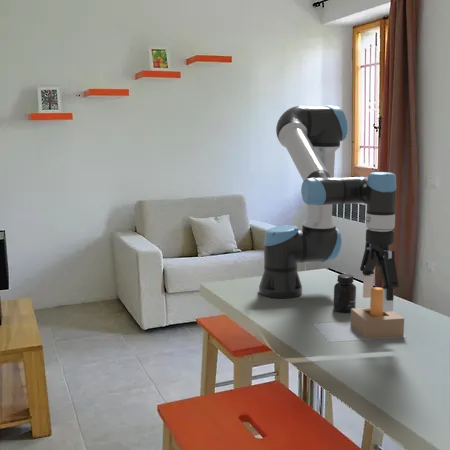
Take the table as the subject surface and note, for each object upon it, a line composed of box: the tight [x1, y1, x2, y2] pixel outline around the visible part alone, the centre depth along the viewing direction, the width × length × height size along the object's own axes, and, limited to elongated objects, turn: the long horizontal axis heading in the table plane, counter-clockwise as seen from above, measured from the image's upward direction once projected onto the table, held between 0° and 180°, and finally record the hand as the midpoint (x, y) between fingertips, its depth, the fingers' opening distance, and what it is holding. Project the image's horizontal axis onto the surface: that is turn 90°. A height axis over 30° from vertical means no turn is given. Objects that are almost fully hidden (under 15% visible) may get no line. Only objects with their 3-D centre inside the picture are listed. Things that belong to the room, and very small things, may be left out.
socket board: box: [312, 307, 407, 343], centre depth 166 cm, size 15×22×6 cm
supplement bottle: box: [332, 273, 357, 314], centre depth 185 cm, size 7×7×12 cm
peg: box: [369, 286, 383, 317], centre depth 165 cm, size 4×4×12 cm
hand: (377, 304), depth 165 cm, fingers open, 13 cm apart
